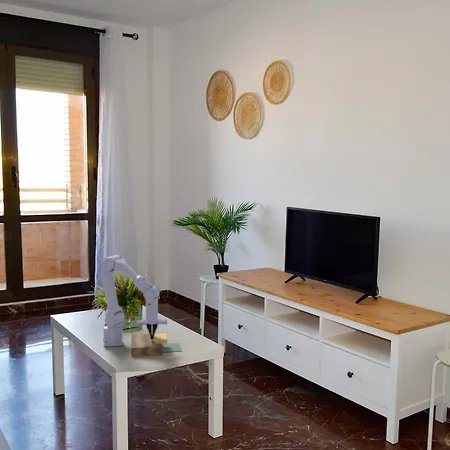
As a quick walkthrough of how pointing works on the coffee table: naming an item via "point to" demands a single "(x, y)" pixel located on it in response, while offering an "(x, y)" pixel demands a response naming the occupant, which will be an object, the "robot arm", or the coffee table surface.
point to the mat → (171, 347)
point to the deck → (144, 345)
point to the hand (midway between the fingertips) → (152, 339)
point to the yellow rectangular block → (160, 339)
